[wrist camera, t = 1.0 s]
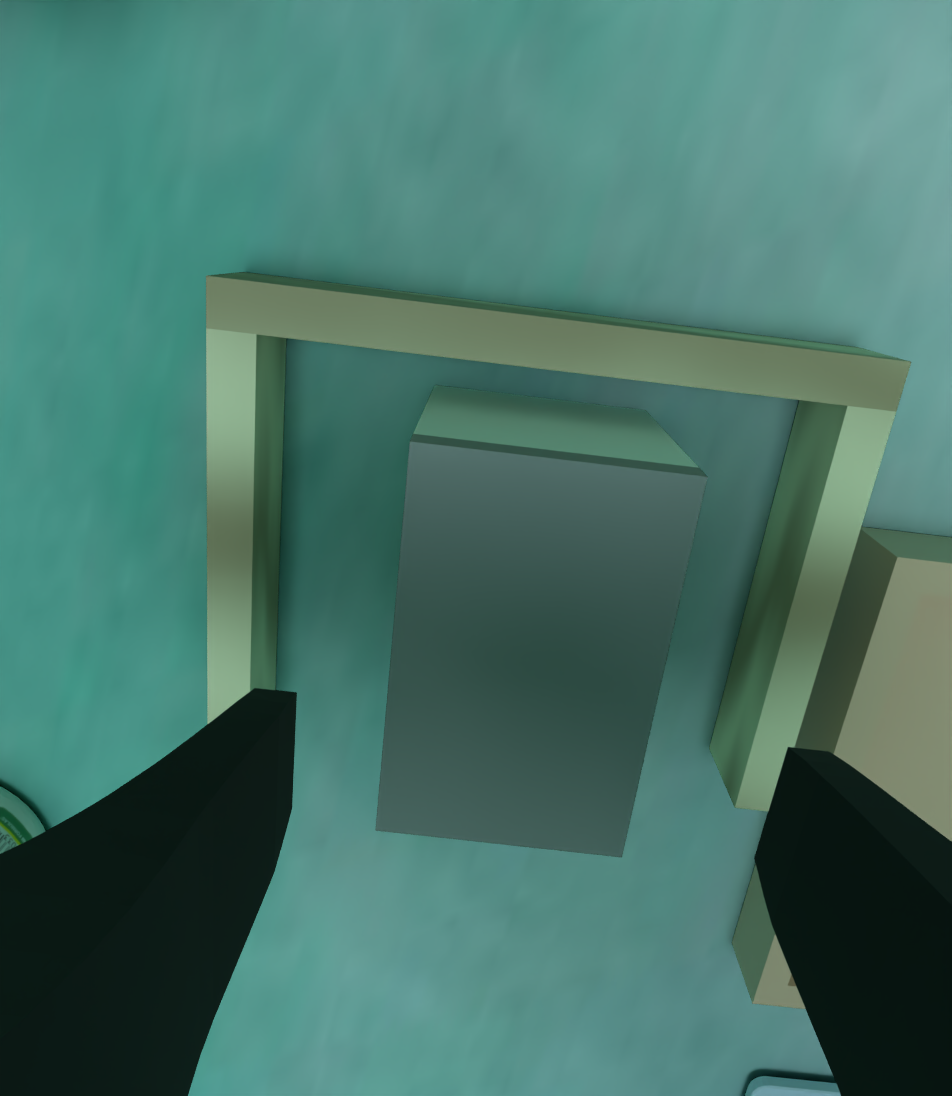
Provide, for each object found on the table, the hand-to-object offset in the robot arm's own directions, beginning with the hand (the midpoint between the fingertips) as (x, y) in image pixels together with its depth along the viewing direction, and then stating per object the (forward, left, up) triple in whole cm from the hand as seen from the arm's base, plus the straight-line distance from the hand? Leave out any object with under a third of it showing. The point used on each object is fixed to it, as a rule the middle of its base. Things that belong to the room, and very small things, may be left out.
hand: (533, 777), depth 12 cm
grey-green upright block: (0, 0, -9) cm, 9 cm away
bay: (0, 0, -9) cm, 9 cm away
